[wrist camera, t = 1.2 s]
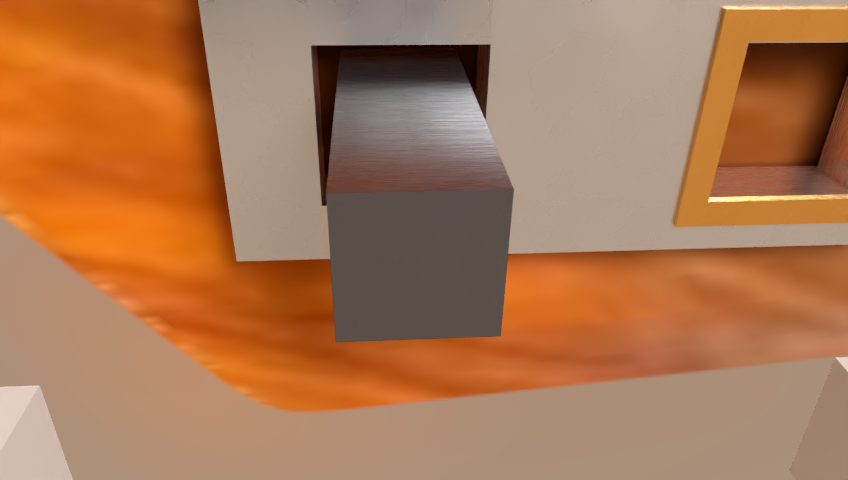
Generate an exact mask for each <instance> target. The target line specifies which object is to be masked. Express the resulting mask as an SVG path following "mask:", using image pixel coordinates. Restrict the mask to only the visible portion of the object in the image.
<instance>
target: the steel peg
mask: <svg viewBox="0 0 848 480" xmlns="http://www.w3.org/2000/svg"><path fill="white" fill-rule="evenodd" d="M513 195H514V188H513V186H512V184H511V181H510V179H509V176H508V174H507V171H506V169H505V167H504V164H503V162H502V159H501V157H500V155H499V152H498V150H497V147H496V145H495V143H494V140H493V138H492V135H491V133H490V130H489V128H488V126H487V123H486V121H485V118H484V116H483V114H482V111H481V109H480V106H479V104H478V102H477V99H476V97H475V94H474V92H473V90H472V87H471V85H470V82H469V80H468V77H467V75H466V73H465V70H464V68H463V65H462V63H461V61H460V58H459V56H458V53H457V51H456V49H455V48H340V57H339V67H338V77H337V87H336V98H335V108H334V118H333V128H332V138H331V148H330V158H329V169H328V179H327V189H326V201H327V216H328V232H329V247H330V262H331V278H332V293H333V309H334V324H335V340H336V342H357V341H385V340H412V339H439V338H466V337H494V336H501V326H502V315H503V304H504V293H505V282H506V271H507V261H508V250H509V239H510V228H511V217H512V206H513Z"/></svg>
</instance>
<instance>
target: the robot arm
mask: <svg viewBox="0 0 848 480" xmlns="http://www.w3.org/2000/svg"><path fill="white" fill-rule="evenodd" d="M790 471H791V473H792V474H793V475H794V477H795V479H796V480H848V357H842V358H835V360H834V362H833V365H832V367H831V370H830V372H829V375H828V377H827V380H826V382H825V384H824V387H823V389H822V392H821V394H820V397H819V399H818V402H817V404H816V407H815V409H814V412H813V414H812V416H811V419H810V421H809V424H808V427H807V429H806V431H805V434H804V436H803V439H802V441H801V444H800V446H799V448H798V451H797V454H796V456H795V458H794V461H793V463H792V466H791V468H790ZM0 480H73V479H72V476H71V474H70V470H69V468H68V465H67V462H66V459H65V456H64V453H63V451H62V448H61V445H60V442H59V440H58V437H57V434H56V431H55V428H54V425H53V422H52V420H51V417H50V414H49V411H48V408H47V405H46V402H45V400H44V397H43V394H42V391H41V388H40V386H13V387H0Z"/></svg>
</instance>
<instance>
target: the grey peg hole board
mask: <svg viewBox="0 0 848 480" xmlns="http://www.w3.org/2000/svg"><path fill="white" fill-rule="evenodd" d="M198 4H199V10H200V17H201V24H202V31H203V37H204V44H205V51H206V58H207V65H208V71H209V78H210V85H211V92H212V98H213V105H214V112H215V119H216V126H217V132H218V139H219V146H220V153H221V159H222V166H223V173H224V180H225V187H226V193H227V200H228V207H229V214H230V220H231V227H232V234H233V241H234V248H235V254H236V261H272V260H308V259H330V247H329V232H328V216H327V201H326V189H327V179H328V175H325V165H324V150H323V134H322V119H321V103H320V88H319V72H318V57H317V45H478V56H477V74H476V93H475V97H476V99H477V102H478V104H479V106H480V109H481V111H482V114H483V116H484V118H485V121H486V123H487V126H488V128H489V130H490V133H491V135H492V138H493V140H494V143H495V145H496V147H497V150H498V152H499V155H500V157H501V159H502V162H503V164H504V167H505V169H506V171H507V174H508V176H509V179H510V181H511V184H512V186H513V188H514V195H513V206H512V217H511V228H510V239H509V250H508V254H523V253H559V252H595V251H631V250H667V249H703V248H739V247H775V246H811V245H847V244H848V76H847V79H846V82H845V85H844V88H843V91H842V94H841V97H840V100H839V103H838V106H837V109H836V112H835V115H834V118H833V121H832V123H831V126H830V129H829V132H828V135H827V138H826V141H825V144H824V147H823V150H822V153H821V156H820V159H819V162H818V165H817V166H769V167H717V165H718V162H719V158H720V154H721V150H722V146H723V142H724V138H725V134H726V130H727V126H728V122H729V118H730V115H731V111H732V107H733V103H734V99H735V95H736V91H737V87H738V83H739V79H740V75H741V72H742V68H743V64H744V60H745V56H746V52H747V48H748V44H749V43H842V42H848V0H198Z"/></svg>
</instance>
